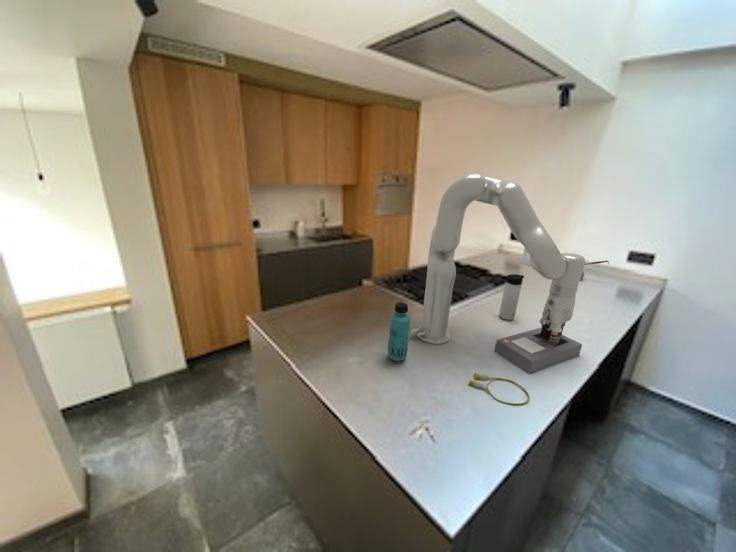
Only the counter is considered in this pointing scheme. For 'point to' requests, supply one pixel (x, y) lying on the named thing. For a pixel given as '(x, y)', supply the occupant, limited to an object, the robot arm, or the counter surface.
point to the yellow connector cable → (485, 377)
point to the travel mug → (510, 297)
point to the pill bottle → (554, 334)
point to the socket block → (536, 350)
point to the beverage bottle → (399, 332)
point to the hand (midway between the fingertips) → (550, 336)
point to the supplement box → (526, 257)
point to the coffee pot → (592, 263)
